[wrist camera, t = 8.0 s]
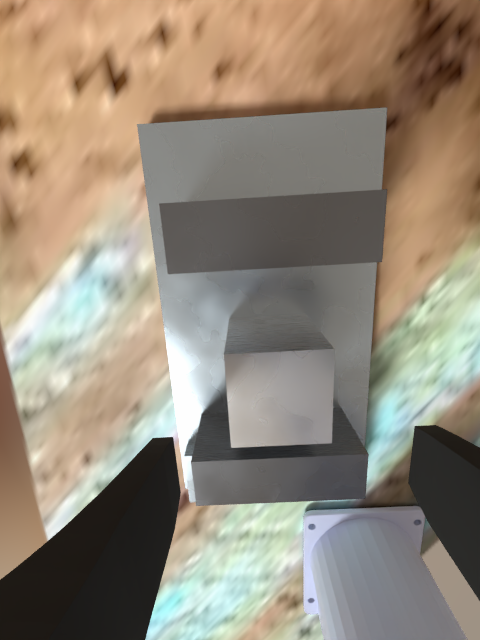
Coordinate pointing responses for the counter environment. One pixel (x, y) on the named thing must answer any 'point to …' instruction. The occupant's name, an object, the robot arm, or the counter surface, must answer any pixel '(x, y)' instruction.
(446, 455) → the robot arm
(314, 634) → the counter surface
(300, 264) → the block
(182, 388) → the base
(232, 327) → the aluminium block
